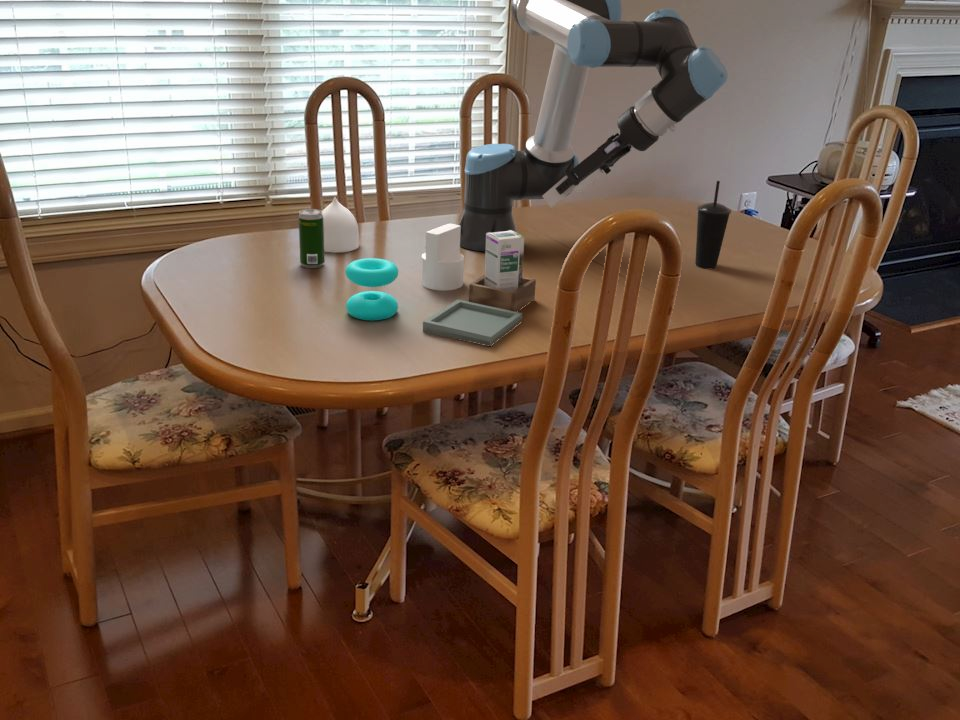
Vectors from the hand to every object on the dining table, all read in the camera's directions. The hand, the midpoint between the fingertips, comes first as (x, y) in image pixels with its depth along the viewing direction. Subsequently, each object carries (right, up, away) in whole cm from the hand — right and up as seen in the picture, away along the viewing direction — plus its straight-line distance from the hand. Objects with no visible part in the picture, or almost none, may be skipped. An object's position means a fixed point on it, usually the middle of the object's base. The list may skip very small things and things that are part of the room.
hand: (560, 194), depth 175 cm
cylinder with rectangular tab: (-23, -15, +24) cm, 37 cm away
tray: (-17, -25, +2) cm, 30 cm away
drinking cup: (+38, -9, +43) cm, 58 cm away
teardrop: (-49, -4, +46) cm, 67 cm away
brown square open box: (-11, -19, +14) cm, 26 cm away
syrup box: (-11, -20, +14) cm, 27 cm away
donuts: (-36, -22, +6) cm, 43 cm away
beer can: (-52, -10, +32) cm, 62 cm away
